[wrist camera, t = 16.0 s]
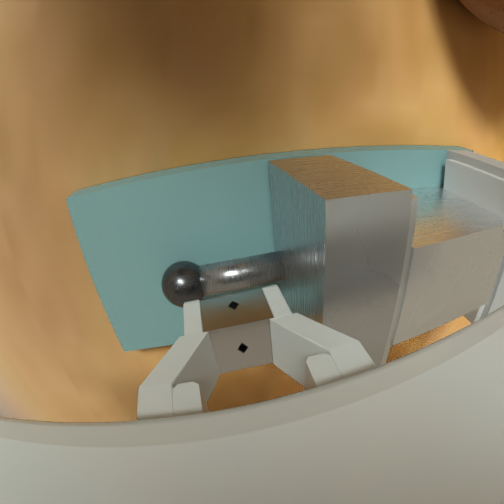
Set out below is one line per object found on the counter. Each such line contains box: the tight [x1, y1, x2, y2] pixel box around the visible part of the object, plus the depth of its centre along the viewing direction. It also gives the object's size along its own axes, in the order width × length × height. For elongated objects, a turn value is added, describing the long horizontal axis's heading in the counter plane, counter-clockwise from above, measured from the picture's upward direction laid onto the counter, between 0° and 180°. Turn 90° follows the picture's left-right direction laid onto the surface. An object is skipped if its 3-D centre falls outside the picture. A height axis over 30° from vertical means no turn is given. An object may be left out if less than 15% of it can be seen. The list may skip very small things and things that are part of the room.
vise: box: [66, 145, 504, 351], centre depth 11 cm, size 20×8×6 cm, turn 96°
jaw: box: [161, 155, 418, 367], centre depth 10 cm, size 8×8×5 cm
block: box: [391, 186, 504, 346], centre depth 11 cm, size 6×4×5 cm, turn 96°
